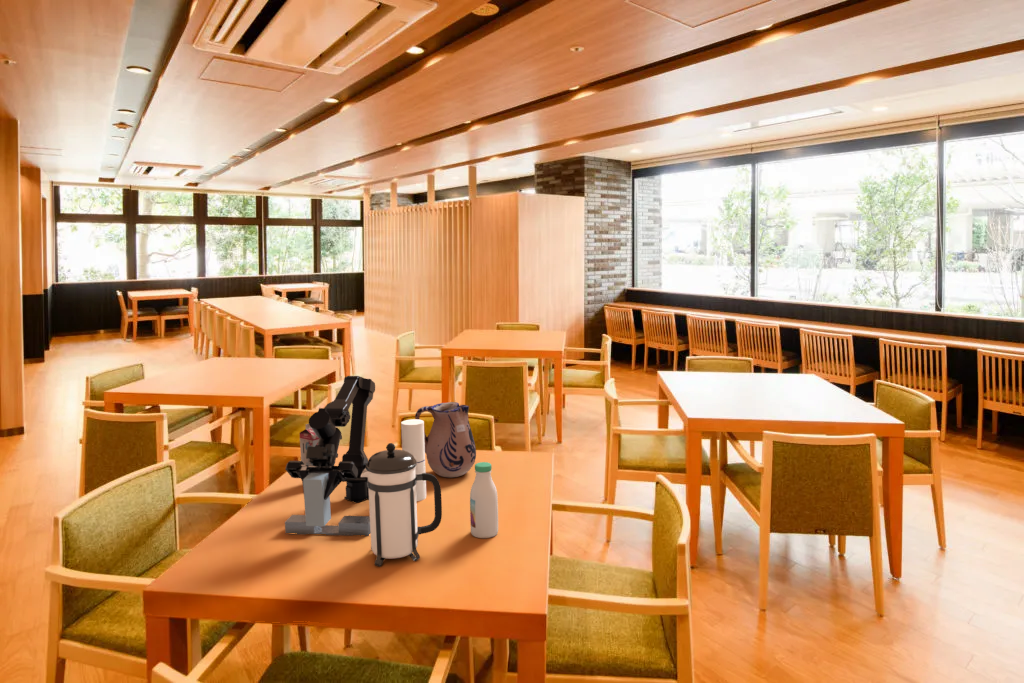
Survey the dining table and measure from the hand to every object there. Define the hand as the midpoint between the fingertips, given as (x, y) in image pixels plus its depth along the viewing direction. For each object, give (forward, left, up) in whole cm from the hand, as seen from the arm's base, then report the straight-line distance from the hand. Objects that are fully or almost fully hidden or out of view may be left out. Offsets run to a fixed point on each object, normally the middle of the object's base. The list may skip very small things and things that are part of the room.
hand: (315, 499), depth 170 cm
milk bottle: (-34, +30, -13) cm, 47 cm away
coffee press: (-11, +21, -13) cm, 27 cm away
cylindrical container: (-40, -6, -13) cm, 42 cm away
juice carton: (-27, -42, -13) cm, 51 cm away
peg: (-1, -1, -7) cm, 7 cm away
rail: (-7, -5, -13) cm, 16 cm away
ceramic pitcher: (-62, -14, -13) cm, 65 cm away
